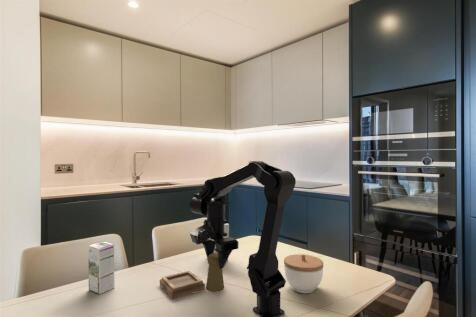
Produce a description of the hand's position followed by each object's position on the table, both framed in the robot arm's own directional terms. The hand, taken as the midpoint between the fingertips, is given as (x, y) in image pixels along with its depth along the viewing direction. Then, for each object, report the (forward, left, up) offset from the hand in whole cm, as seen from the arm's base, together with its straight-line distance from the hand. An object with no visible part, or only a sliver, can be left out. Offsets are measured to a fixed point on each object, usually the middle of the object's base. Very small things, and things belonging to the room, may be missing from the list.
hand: (215, 264), depth 96 cm
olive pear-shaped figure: (0, 0, -8) cm, 8 cm away
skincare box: (+22, -14, -8) cm, 27 cm away
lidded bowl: (-16, -24, -8) cm, 30 cm away
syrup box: (+19, +31, -8) cm, 37 cm away
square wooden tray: (+6, +9, -8) cm, 13 cm away
